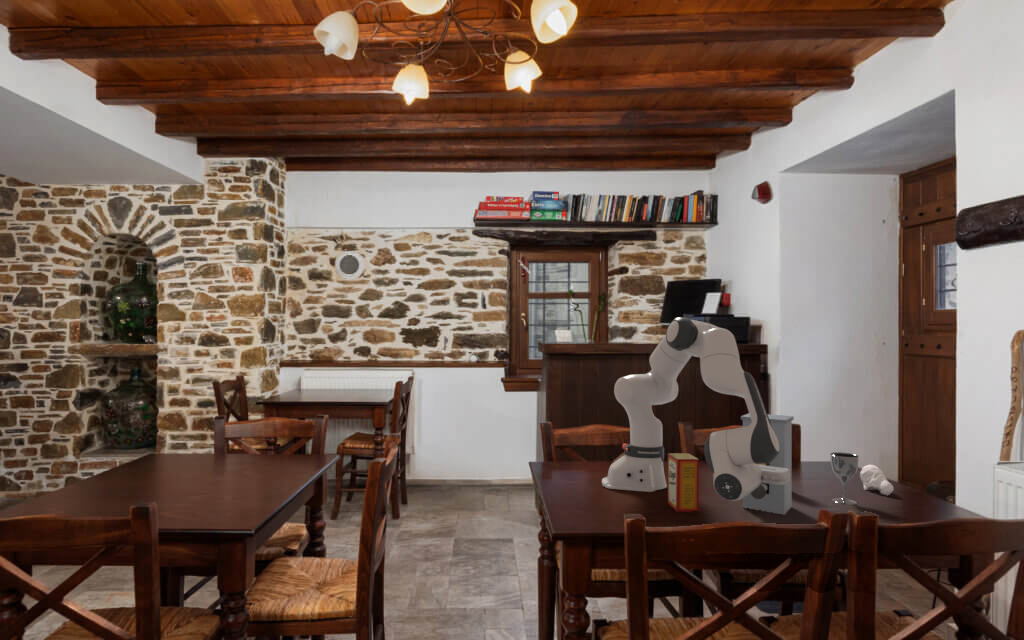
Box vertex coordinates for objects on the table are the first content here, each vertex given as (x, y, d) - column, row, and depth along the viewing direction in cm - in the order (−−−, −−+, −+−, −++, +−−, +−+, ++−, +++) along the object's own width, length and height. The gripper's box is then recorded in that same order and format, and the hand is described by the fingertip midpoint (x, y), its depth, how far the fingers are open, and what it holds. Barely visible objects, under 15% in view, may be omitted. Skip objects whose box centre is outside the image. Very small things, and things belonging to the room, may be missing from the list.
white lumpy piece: (875, 462, 217) (900, 474, 205) (873, 486, 218) (899, 499, 206) (858, 463, 216) (883, 474, 204) (857, 487, 217) (881, 499, 205)
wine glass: (825, 498, 203) (825, 452, 203) (850, 498, 203) (850, 452, 203) (837, 504, 195) (837, 457, 195) (863, 505, 195) (863, 457, 195)
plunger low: (764, 500, 181) (764, 486, 181) (750, 498, 183) (750, 484, 183) (772, 493, 189) (772, 480, 189) (758, 491, 191) (758, 478, 191)
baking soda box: (667, 503, 195) (667, 452, 196) (688, 502, 196) (688, 452, 196) (677, 511, 186) (677, 458, 186) (698, 511, 186) (698, 458, 186)
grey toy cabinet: (785, 515, 183) (785, 420, 184) (740, 507, 191) (740, 416, 191) (793, 507, 192) (793, 416, 193) (750, 500, 200) (750, 412, 200)
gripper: (784, 469, 165) (795, 460, 176) (708, 459, 177) (722, 451, 188) (784, 493, 165) (795, 483, 176) (708, 481, 177) (722, 472, 188)
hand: (757, 466), depth 182 cm, fingers closed, pressing on plunger mid
